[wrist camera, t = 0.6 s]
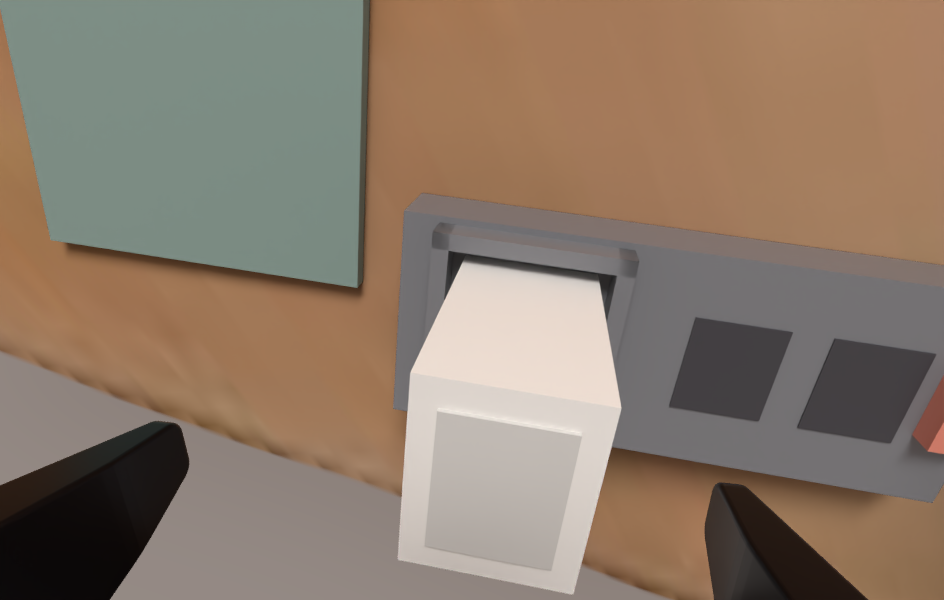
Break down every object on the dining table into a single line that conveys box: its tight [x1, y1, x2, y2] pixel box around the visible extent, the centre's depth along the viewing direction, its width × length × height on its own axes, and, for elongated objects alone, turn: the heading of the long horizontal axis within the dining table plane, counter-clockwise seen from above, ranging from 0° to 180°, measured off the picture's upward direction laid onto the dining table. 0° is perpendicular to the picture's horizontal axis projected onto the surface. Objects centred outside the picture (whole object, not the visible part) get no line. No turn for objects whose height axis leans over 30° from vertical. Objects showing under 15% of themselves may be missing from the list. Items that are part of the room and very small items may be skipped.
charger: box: [398, 255, 621, 595], centre depth 15 cm, size 4×5×7 cm
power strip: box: [393, 193, 944, 503], centre depth 18 cm, size 18×7×3 cm, turn 84°
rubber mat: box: [0, 0, 370, 288], centre depth 18 cm, size 12×12×1 cm
